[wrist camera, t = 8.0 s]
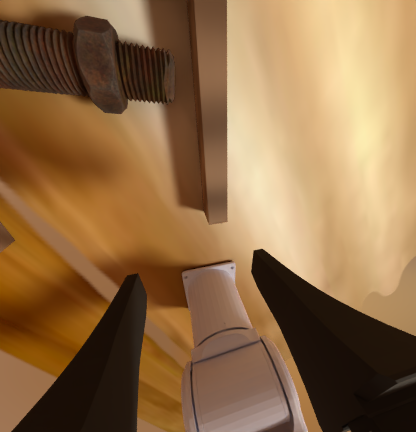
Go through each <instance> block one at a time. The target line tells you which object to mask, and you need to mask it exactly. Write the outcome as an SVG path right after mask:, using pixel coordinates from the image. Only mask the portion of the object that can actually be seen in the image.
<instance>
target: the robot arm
mask: <svg viewBox="0 0 416 432" xmlns="http://www.w3.org/2000/svg"><path fill="white" fill-rule="evenodd" d="M251 273H252V275H253V278H254V280H255V282H256V285H257V287H258V289H259V291H260V293H261V294H262V296H263V298H264V300H265V302H266V303H267V305H268V307H269V309H270V311H271V312H272V314H273V316H274V318H275V319H276V321H277V323H278V325H279V327H280V329H281V331H282V334H283V336H284V338H285V340H286V343H287V345H288V347H289V349H290V352H291V354H292V356H293V359H294V361H295V363H296V365H297V368H298V371H299V373H300V376H301V378H302V380H303V383H304V385H305V388H306V390H307V393H308V396H309V398H310V401H311V404H312V406H313V409H314V412H315V414H316V417H317V420H318V423H319V425H320V427H321V429H322V431H323V432H347V431H349V430H351V432H416V336H414V335H411V334H409V333H406V332H404V331H402V330H399V329H397V328H394V327H392V326H390V325H387V324H385V323H383V322H381V321H378V320H376V319H374V318H372V317H370V316H368V315H365V314H363V313H361V312H359V311H357V310H355V309H353V308H351V307H349V306H347V305H346V304H344V303H342V302H340V301H338V300H336V299H334V298H333V297H331V296H329V295H327V294H326V293H324V292H322V291H321V290H319V289H317V288H316V287H314V286H313V285H311V284H310V283H308V282H307V281H305V280H304V279H302V278H301V277H299V276H298V275H296V274H295V273H294V272H292V271H291V270H289V269H288V268H287V267H285V266H284V265H283V264H281V263H280V262H279V261H278V260H276V259H275V258H274V257H272V256H271V255H270V254H269V253H267V252H266V251H265V250H263V249H259V250H254V253H253V261H252V270H251ZM185 276H186V277H185ZM182 278H183V283H184V288H185V293H186V298H187V303H188V308H189V311H190V314H191V323H192V331H193V339H194V349H192V350H191V355H192V361H189V362H187V364H186V366H185V369H184V371H183V374H182V381H181V398H182V411H183V419H184V425H185V431H186V432H308V430H307V427H306V424H305V421H304V419H303V415H302V412H301V409H300V402H299V398H298V394H297V391H296V389H295V386H294V383H293V381H292V378H291V376H290V373H289V371H288V369H287V366H286V364H285V362H284V360H283V358H282V356H281V354H280V352H279V350H278V349H277V347H276V345H275V344H274V343H273V341H271V340H270V339H268V338H267V337H266V336H261V337H259V335H258V332H257V330H256V328H252V325H251V323H250V320H249V318H248V316H247V313H246V311H245V308H244V306H243V303H242V301H241V298H240V296H239V293H238V291H237V289H236V286H235V262H233V261H232V262H227V263H222V264H217V265H212V266H207V267H202V268H197V269H192V270H187V271H183V272H182ZM146 309H147V294H146V291H145V289H144V286H143V284H142V281H141V279H140V276H139V274H138V273H137V274H132V275H127V277H126V278H125V280H124V282H123V283H122V285H121V287H120V289H119V291H118V292H117V294H116V296H115V297H114V299H113V301H112V302H111V304H110V306H109V307H108V309H107V311H106V312H105V314H104V315H103V317H102V319H101V320H100V322H99V323H98V325H97V326H96V328H95V329H94V331H93V332H92V334H91V335H90V336H89V338H88V339H87V341H86V342H85V343H84V345H83V346H82V348H81V349H80V350H79V352H78V353H77V354H76V356H75V357H74V358H73V360H72V361H71V362H70V363H69V365H68V366H67V367H66V368H65V370H64V371H63V372H62V373H61V375H60V376H59V377H58V378H57V380H56V381H55V382H54V384H53V385H52V386H51V387H50V388H49V389H48V391H47V392H46V393H45V394H44V395H43V396H42V398H41V399H40V400H39V401H38V402H37V403H36V404H35V406H34V407H33V408H32V409H31V410H30V411H29V412H28V413H27V415H26V416H25V417H24V418H23V419H22V420H21V421H20V423H19V424H18V425H17V426H16V427H15V428H14V429H13V430H12V431H11V432H137V405H138V382H139V365H140V356H141V349H142V341H143V334H144V327H145V320H146Z"/></svg>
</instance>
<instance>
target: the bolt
mask: <svg viewBox="0 0 416 432" xmlns="http://www.w3.org/2000/svg"><path fill="white" fill-rule="evenodd" d="M0 88H5V89H8V88H10V89H17V90H25V91H27V90H29V91H36V92H40V91H41V92H44V93H45V92H47V93H55V94H57V93H59V94H71V95H79V96H80V95H82V96H86V95H87V96H89V97H90V98H91V99H92V101H93V102H94V104H95V105H96V106H97V107H98V108H100V109H101V110H102V111H103V112H105V113H115V114H121V113H122V112H123V111H124V110H125V109H126V108H127V105H128V99H129V100H130V101H132V99H134V100H135V102H136V100H137V99H138V100H139V101H140V102H141V100H143V101H144V102H145V101H146V100H147V101H148V102H149V103H150V101H152V102H153V103H155V101H157V102H158V103H160V101H161V102H162V104H164V102H166V104H167V105H168V103H169V102H171V103H172V102H173V100H174V95H175V64H174V57H173V55H172V54H171V52H170V51H169V49H168V50H167V52H165V50H164V48H163V49H162V51H160V49H159V48H158V49H157V50H156V51H155V49H154V47H152V49H151V50H150V49H149V47H148V46H147V47H146V48H144V46H143V45H142V46H141V47H140V48H139V46H138V45H137V44H136V45H135V47H134V46H133V44H132V43H131V44H130V45H129V46H128V45H127V43H126V41H125V43H124V44H123V45H122V43H121V42H120V40H119V39H118V36H117V33H116V30H115V29H114V28H113V26H112V25H111V24H110V23H109V22H108V21H107V20H105V19H100V18H95V17H90V16H85V17H81V18H79V19H78V20H76V21H75V24H74V35H73V33H72V32H68V34H67V33H66V32H65V31H64V30H62V31H61V32H60V31H59V30H58V29H55V30H53V29H51V28H47V29H46V28H45V27H40V28H39V27H38V26H31V25H28V24H23V23H16V22H8V21H2V20H0Z"/></svg>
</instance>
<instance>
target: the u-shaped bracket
mask: <svg viewBox="0 0 416 432" xmlns="http://www.w3.org/2000/svg"><path fill="white" fill-rule="evenodd" d="M187 10H188V22H189V34H190V46H191V59H192V71H193V83H194V95H195V107H196V120H197V132H198V144H199V156H200V169H201V181H202V193H203V205H204V213H205V215H206V218H207V221H208V223H209V225H211V224H217V223H223V222H227V0H187ZM14 241H15V240H14V238H13V237H12V236H11V235H10V233H9V232H8V231H7V230H6V228H5V227H4V226H3V225H2V223H1V222H0V252H2V251H3V250H4V249H5V248H6V247H8V246H9V245H10V244H11V243H13V242H14Z"/></svg>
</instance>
